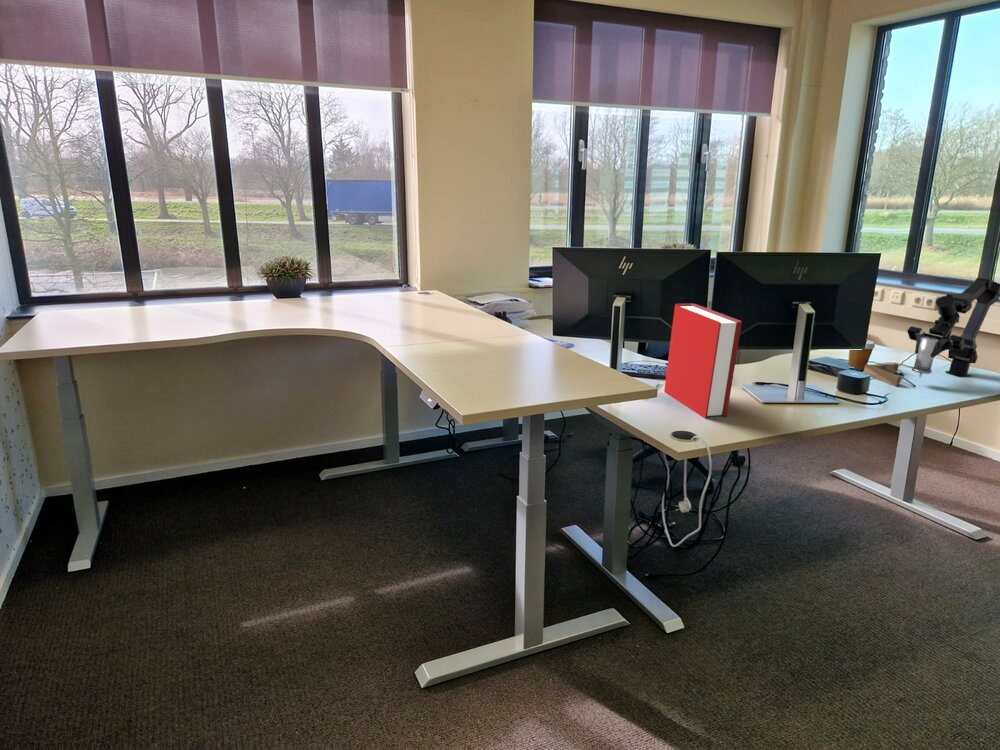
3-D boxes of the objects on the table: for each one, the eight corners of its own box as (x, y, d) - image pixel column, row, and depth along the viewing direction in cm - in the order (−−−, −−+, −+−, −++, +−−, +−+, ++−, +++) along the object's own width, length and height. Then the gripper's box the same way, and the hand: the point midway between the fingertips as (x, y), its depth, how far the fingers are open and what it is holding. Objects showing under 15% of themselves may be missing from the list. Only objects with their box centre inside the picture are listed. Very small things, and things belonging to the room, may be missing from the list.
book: (726, 417, 204) (742, 321, 194) (705, 418, 202) (719, 321, 192) (681, 389, 229) (693, 303, 219) (662, 390, 227) (673, 303, 217)
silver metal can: (916, 367, 246) (924, 335, 242) (934, 372, 241) (943, 339, 237) (908, 369, 242) (916, 337, 238) (926, 374, 237) (934, 341, 233)
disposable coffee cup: (853, 372, 258) (859, 344, 254) (838, 365, 267) (844, 338, 263) (874, 372, 259) (881, 344, 255) (859, 365, 268) (865, 338, 264)
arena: (892, 372, 260) (894, 363, 259) (926, 384, 245) (929, 375, 244) (863, 373, 256) (865, 364, 255) (895, 386, 242) (898, 376, 240)
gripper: (975, 342, 238) (954, 373, 236) (923, 331, 253) (902, 360, 251) (971, 324, 232) (949, 356, 230) (917, 313, 247) (896, 344, 244)
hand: (923, 354), depth 239 cm, fingers closed on silver metal can, 5 cm apart
